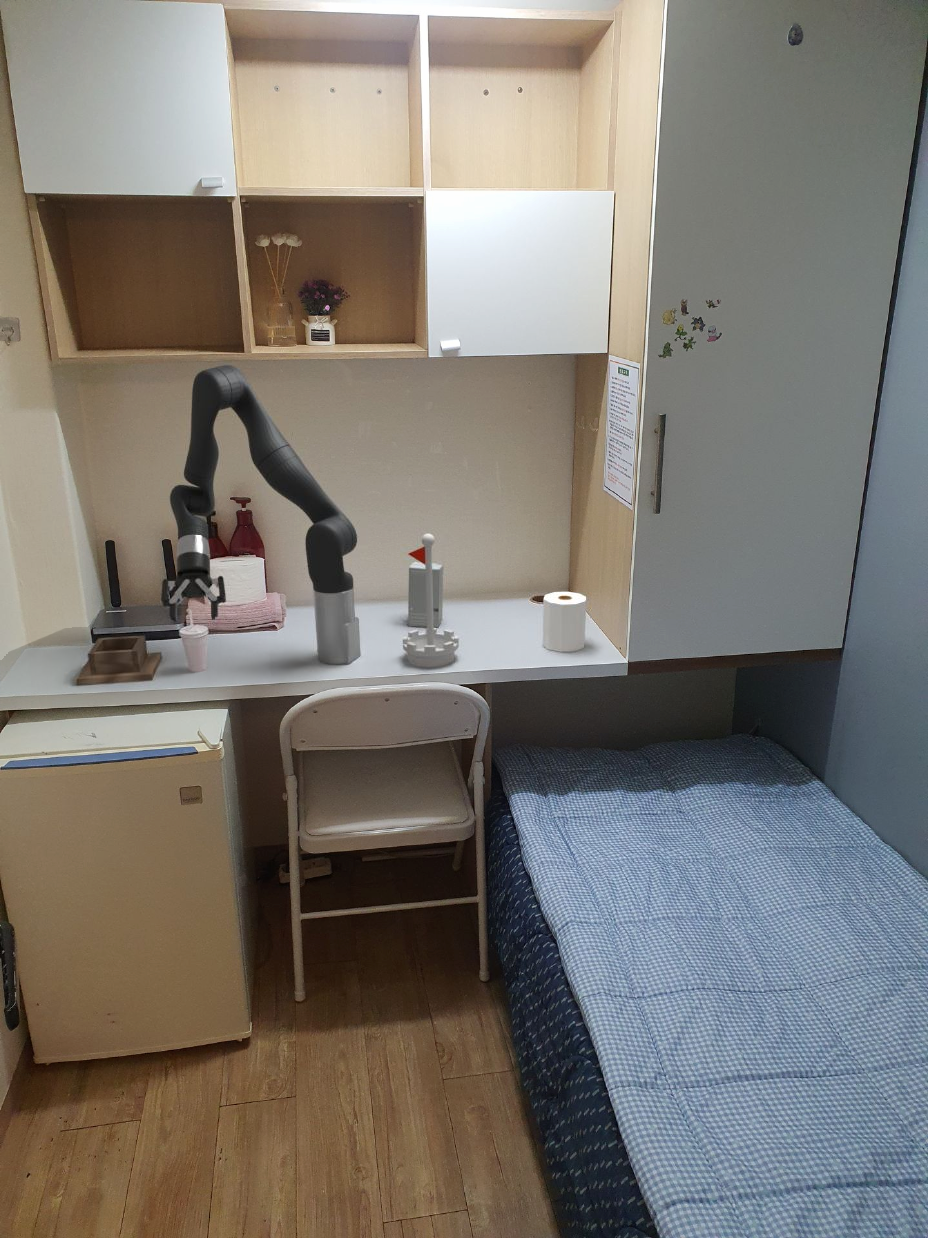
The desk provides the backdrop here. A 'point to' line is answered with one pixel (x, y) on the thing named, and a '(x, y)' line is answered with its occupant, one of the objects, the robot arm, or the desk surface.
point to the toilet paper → (564, 621)
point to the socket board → (119, 661)
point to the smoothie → (195, 645)
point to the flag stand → (429, 623)
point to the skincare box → (424, 594)
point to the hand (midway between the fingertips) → (194, 619)
